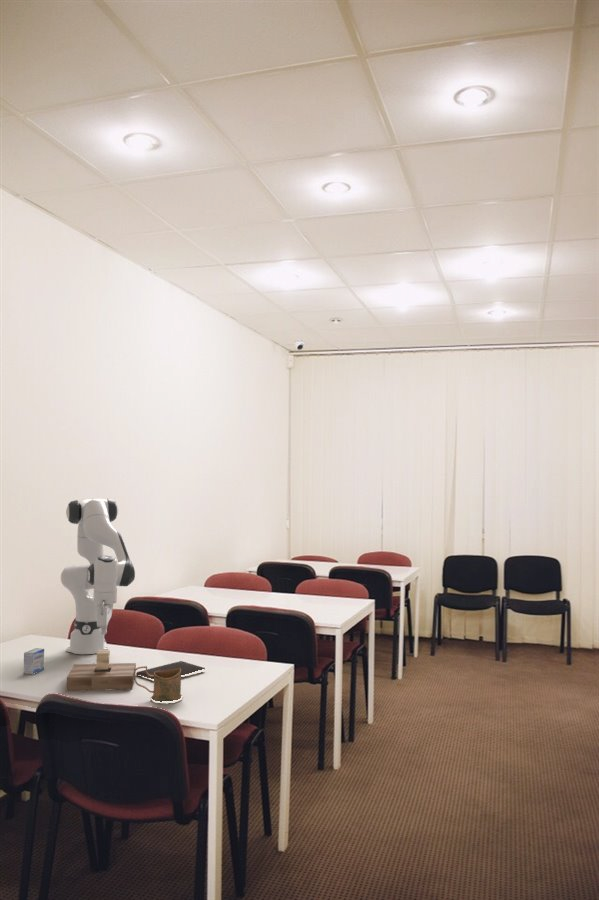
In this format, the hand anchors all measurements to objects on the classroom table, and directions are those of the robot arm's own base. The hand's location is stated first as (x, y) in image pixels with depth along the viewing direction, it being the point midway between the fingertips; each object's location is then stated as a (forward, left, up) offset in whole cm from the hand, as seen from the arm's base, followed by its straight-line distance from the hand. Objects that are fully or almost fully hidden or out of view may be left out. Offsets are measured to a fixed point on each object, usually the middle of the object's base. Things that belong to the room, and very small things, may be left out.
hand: (103, 634), depth 269 cm
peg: (0, 0, -19) cm, 19 cm away
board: (0, 0, -19) cm, 19 cm away
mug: (+22, +22, -19) cm, 37 cm away
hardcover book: (-10, +26, -20) cm, 34 cm away
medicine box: (-18, -29, -19) cm, 39 cm away
